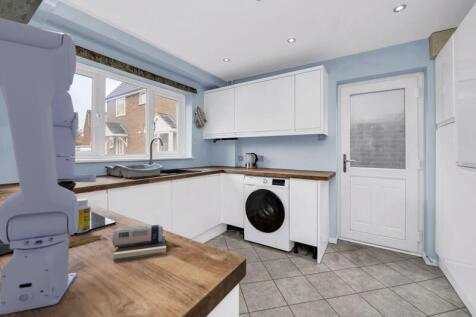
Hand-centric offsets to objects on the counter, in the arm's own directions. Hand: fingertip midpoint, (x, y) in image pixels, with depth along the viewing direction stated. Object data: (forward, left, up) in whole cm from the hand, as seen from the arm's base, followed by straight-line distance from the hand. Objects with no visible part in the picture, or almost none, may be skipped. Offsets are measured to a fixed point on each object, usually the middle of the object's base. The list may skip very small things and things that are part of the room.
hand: (59, 212), depth 52 cm
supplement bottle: (+19, +1, -11) cm, 22 cm away
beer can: (0, -12, -8) cm, 14 cm away
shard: (+9, 0, -11) cm, 14 cm away
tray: (-2, -19, -10) cm, 21 cm away
